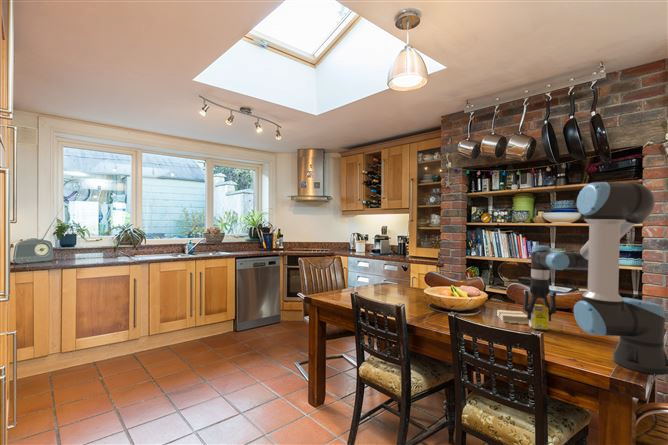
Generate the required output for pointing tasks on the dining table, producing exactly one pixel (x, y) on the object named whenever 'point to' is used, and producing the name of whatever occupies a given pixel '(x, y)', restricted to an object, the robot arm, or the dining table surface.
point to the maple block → (513, 316)
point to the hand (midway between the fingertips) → (538, 327)
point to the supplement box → (540, 318)
